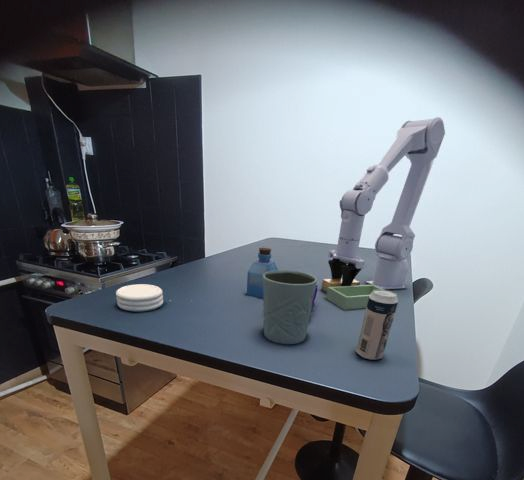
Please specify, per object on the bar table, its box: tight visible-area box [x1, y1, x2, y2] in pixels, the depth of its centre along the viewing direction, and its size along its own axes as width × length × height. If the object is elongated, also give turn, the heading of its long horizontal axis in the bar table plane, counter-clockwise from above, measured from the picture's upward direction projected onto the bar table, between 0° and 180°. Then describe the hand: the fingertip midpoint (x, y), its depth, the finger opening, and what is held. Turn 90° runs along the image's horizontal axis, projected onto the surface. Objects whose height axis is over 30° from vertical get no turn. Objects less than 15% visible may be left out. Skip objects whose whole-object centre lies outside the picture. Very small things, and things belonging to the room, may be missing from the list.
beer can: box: [355, 289, 399, 361], centre depth 56 cm, size 5×5×12 cm
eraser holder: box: [325, 284, 384, 311], centre depth 85 cm, size 15×9×3 cm, turn 112°
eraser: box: [320, 278, 361, 295], centre depth 92 cm, size 10×4×3 cm, turn 112°
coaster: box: [115, 283, 164, 313], centre depth 73 cm, size 10×10×4 cm
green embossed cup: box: [262, 269, 318, 345], centre depth 62 cm, size 10×10×12 cm
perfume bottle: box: [246, 247, 279, 299], centre depth 84 cm, size 6×6×12 cm
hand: (340, 287), depth 93 cm, fingers closed on eraser, 4 cm apart
